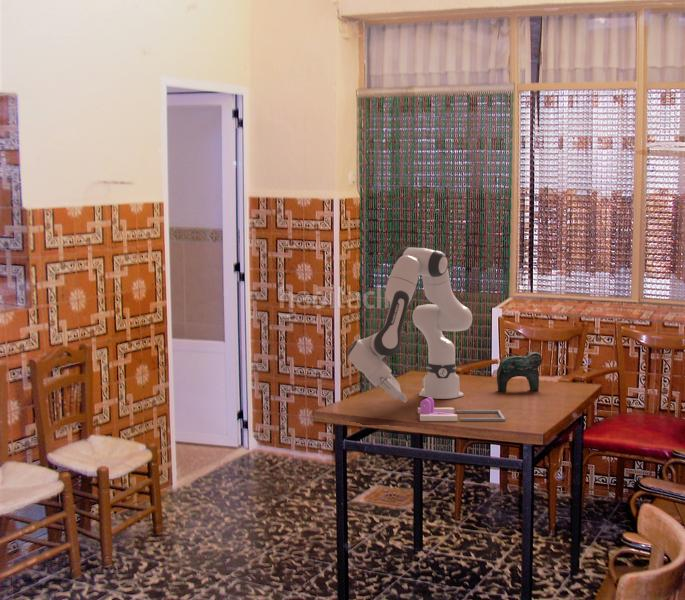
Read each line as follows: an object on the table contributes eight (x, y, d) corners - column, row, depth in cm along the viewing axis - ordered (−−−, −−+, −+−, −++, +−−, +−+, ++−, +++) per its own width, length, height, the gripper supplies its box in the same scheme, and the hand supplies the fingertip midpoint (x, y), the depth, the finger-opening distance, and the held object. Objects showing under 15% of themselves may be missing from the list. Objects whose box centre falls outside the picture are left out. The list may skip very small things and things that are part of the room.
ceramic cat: (539, 389, 432) (539, 344, 430) (543, 391, 426) (544, 346, 424) (495, 390, 430) (495, 344, 428) (499, 393, 423) (499, 347, 421)
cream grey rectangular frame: (417, 412, 384) (417, 407, 384) (499, 412, 384) (499, 407, 383) (420, 421, 369) (420, 415, 369) (505, 421, 369) (505, 416, 369)
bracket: (420, 417, 376) (420, 399, 376) (424, 414, 381) (424, 396, 381) (452, 420, 371) (453, 402, 371) (457, 417, 376) (457, 399, 376)
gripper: (387, 374, 365) (413, 400, 366) (385, 365, 385) (410, 390, 386) (375, 386, 365) (401, 412, 366) (374, 376, 386) (399, 401, 386)
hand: (406, 400), depth 376 cm, fingers closed
